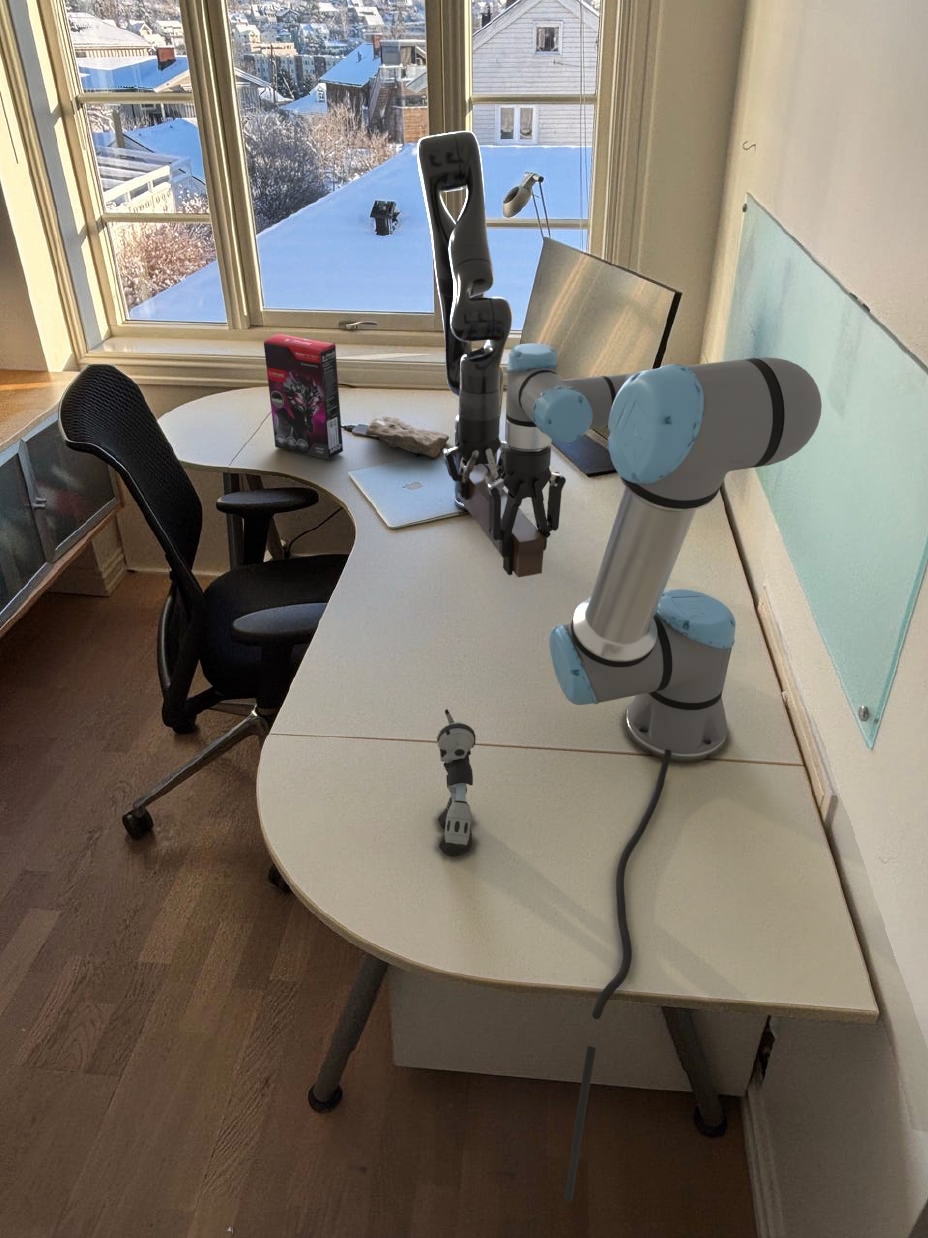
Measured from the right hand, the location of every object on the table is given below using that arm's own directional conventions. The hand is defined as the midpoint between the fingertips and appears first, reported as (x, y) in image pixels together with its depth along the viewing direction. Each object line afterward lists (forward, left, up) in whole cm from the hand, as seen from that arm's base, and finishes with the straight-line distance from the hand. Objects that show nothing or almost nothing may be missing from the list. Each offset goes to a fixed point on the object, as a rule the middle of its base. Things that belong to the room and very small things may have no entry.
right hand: (521, 568), depth 161 cm
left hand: (+18, +13, +4) cm, 23 cm away
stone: (+70, +45, -12) cm, 84 cm away
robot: (-52, -3, -12) cm, 53 cm away
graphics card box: (+61, +67, -12) cm, 92 cm away
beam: (+9, +7, +1) cm, 11 cm away
